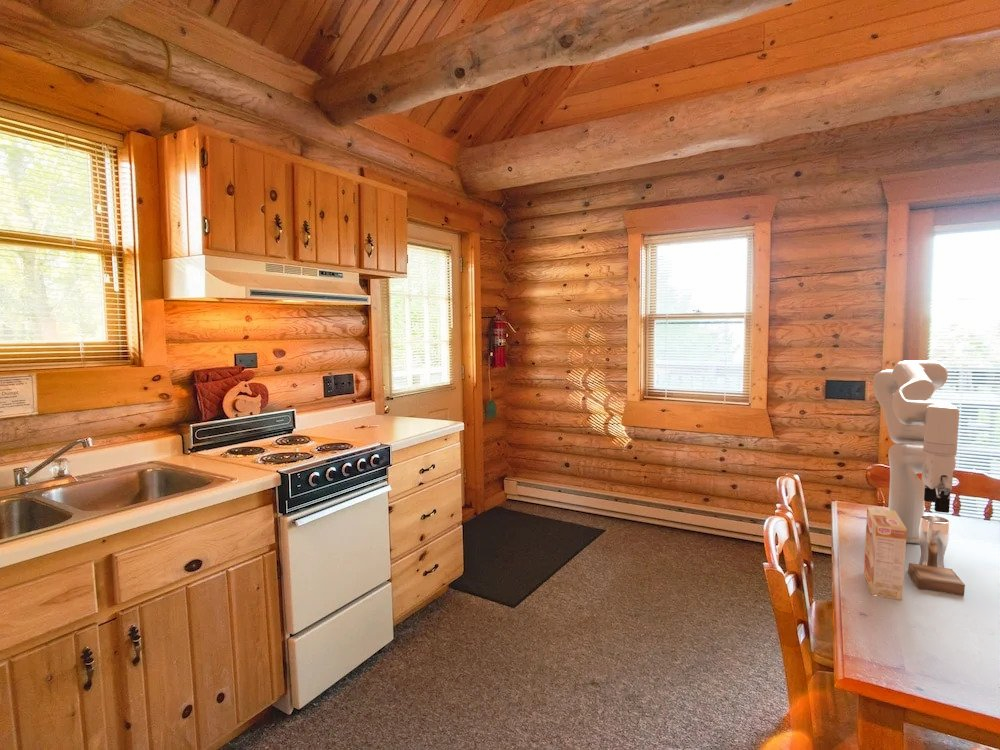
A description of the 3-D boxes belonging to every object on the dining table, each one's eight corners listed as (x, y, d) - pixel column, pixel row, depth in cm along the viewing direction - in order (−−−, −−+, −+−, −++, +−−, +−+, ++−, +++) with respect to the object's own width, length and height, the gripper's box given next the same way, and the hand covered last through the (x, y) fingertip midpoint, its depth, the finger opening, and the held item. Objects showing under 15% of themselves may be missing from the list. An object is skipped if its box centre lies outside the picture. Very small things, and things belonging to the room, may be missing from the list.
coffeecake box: (862, 571, 161) (866, 506, 159) (892, 576, 158) (896, 510, 155) (870, 595, 147) (874, 524, 145) (903, 601, 144) (908, 528, 142)
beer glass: (951, 574, 158) (955, 523, 156) (924, 572, 159) (927, 522, 158) (938, 564, 165) (941, 515, 163) (911, 562, 166) (914, 513, 165)
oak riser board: (907, 573, 159) (908, 562, 159) (951, 579, 155) (951, 568, 155) (918, 588, 150) (918, 577, 150) (964, 595, 146) (965, 584, 146)
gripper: (915, 441, 168) (911, 496, 169) (933, 453, 152) (929, 514, 153) (945, 443, 165) (942, 499, 166) (967, 456, 149) (963, 518, 150)
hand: (936, 506), depth 160 cm, fingers open, 9 cm apart
